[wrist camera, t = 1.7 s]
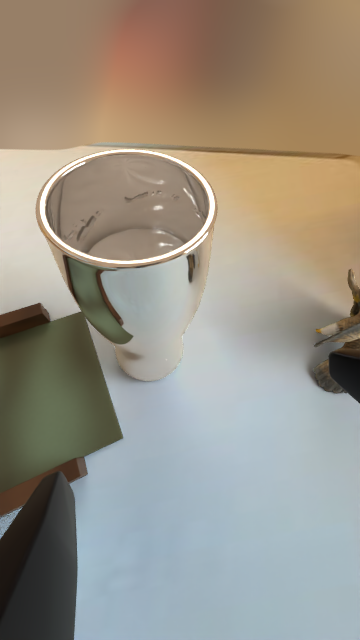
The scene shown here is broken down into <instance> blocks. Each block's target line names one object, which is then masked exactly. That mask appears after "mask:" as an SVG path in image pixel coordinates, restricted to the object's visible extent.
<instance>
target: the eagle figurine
mask: <svg viewBox="0 0 360 640" xmlns="http://www.w3.org/2000/svg"><path fill="white" fill-rule="evenodd" d="M354 276H355V275H354V271H353V270H352V269H350V270H349V272H348V284H349V287H350V289H351V290H352V294H353V299H354V305H353V307H352V309H351V311H350V312H351V313H350V315H351V317H349V318H345V319H342V320H340V321H338V322H336V323H334V324H331V325H328V326H326V327H324V328H322V329H316V332H318V333H322V334H324V335H326V336H329V335H332V336H331V337H329V338H328V339H325V340H323V341H320V342H318V343H316V344H315V345H314V347H318V346H320V345H322V344H323V343H327V342H345V344H344V346H343V347H342V348H343V349H355V350H360V289H359V287H358V285H357V283H356V281H355V278H354ZM313 371H314V372H315V373H316V375H315V378H316V379H317V380H319V386H320V387H324V389H325V391H331V390H332V391H333V392H334V393H339V392H341V391H342V390H343V391H344V393H347V392H346V391H345V390H344V389H343V388H342V387H341V386H339V385H338V384H337V383H336V382H335V381H334V380H333V379H332V378H331V377H330V374H329V361H328V360H326V361H324V362H322V363H321V364H319V365H317V366H316V367H315V368H314V369H313Z"/></svg>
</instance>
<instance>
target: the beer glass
mask: <svg viewBox="0 0 360 640" xmlns="http://www.w3.org/2000/svg"><path fill="white" fill-rule="evenodd" d="M216 216H217V200H216V196H215V193H214V191H213V189H212V187H211V185H210V184H209V182H208V181H207V180H206V178H205V177H204V176H203V175H202V174H201V173H200V172H198V171H197V170H196V169H195V168H193V167H192V166H190V165H189V164H187V163H185V162H183V161H181V160H179V159H177V158H174V157H172V156H169V155H165V154H162V153H158V152H153V151H147V150H137V149H119V150H109V151H103V152H98V153H94V154H91V155H88V156H85V157H82V158H79V159H77V160H75V161H73V162H71V163H69V164H67V165H65V166H64V167H62V168H61V169H59V170H58V171H57V172H55V173H54V174H53V175H52V176H51V177H50V178H49V179H48V180H47V182H46V183H45V184H44V186H43V187H42V189H41V191H40V193H39V195H38V198H37V202H36V218H37V222H38V225H39V228H40V230H41V232H42V233H43V235H44V236H45V238H46V240H47V242H48V245H49V247H50V249H51V252H52V254H53V256H54V259H55V261H56V264H57V266H58V268H59V270H60V273H61V275H62V277H63V279H64V281H65V283H66V285H67V287H68V289H69V291H70V293H71V295H72V297H73V299H74V300H75V302H76V304H77V305H78V307H79V308H80V310H81V311H82V313H83V314H84V316H85V317H86V319H87V320H88V321H89V322H90V323H91V324H92V325H93V327H94V328H95V329H96V330H97V331H98V332H99V333H100V334H101V335H102V336H103V337H104V338H106V339H107V340H108V341H109V342H110V343H111V344H113V345H114V346H115V355H116V359H117V361H118V364H119V365H120V367H121V368H122V370H123V371H124V372H125V373H126V374H128V375H129V376H131V377H133V378H135V379H137V380H141V381H156V380H160V379H162V378H164V377H166V376H168V375H169V374H171V373H172V372H173V371H174V370H175V369H176V368H177V367H178V365H179V363H180V362H181V359H182V356H183V350H184V347H183V340H182V336H183V334H184V333H185V331H186V330H187V328H188V326H189V325H190V323H191V321H192V319H193V317H194V315H195V313H196V311H197V309H198V307H199V305H200V302H201V298H202V295H203V292H204V289H205V285H206V280H207V275H208V270H209V264H210V256H211V249H212V240H213V231H214V223H215V220H216Z"/></svg>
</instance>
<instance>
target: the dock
mask: <svg viewBox="0 0 360 640" xmlns="http://www.w3.org/2000/svg"><path fill="white" fill-rule="evenodd" d="M122 438H123V435H122V432H121V429H120V426H119V423H118V420H117V417H116V413H115V410H114V407H113V404H112V401H111V398H110V395H109V391H108V388H107V385H106V382H105V379H104V376H103V373H102V369H101V366H100V363H99V360H98V357H97V354H96V350H95V347H94V344H93V341H92V338H91V335H90V332H89V328H88V325H87V322H86V319H85V316H84V314H83V313H82V312H79V313H76V314H73V315H70V316H67V317H64V318H61V319H57V320H54V321H50V317H49V313H48V312H47V310H46V309H45V308H44V307H43V306H42V304H41V303H38V304H34V305H31V306H28V307H25V308H21V309H18V310H15V311H12V312H9V313H5V314H2V315H0V518H1V517H3V516H5V515H7V514H9V513H11V512H13V511H15V510H17V509H19V508H21V507H23V506H24V505H25V503H26V502H27V500H28V499H29V497H30V496H31V495H32V493H33V492H34V490H35V489H36V487H37V486H38V484H39V483H40V482H41V480H42V479H43V478H44V477H46V476H47V475H50V474H52V473H54V472H57V471H61V472H62V473H63V474H64V476H65V478H66V479H67V481H68V483H71V482H73V481H75V480H77V479H79V478H82V477H84V476H86V475H87V474H88V472H87V468H86V464H85V460H84V456H86V455H88V454H91V453H93V452H95V451H97V450H99V449H101V448H103V447H105V446H107V445H109V444H112V443H114V442H116V441H118V440H120V439H122Z"/></svg>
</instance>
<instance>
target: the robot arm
mask: <svg viewBox="0 0 360 640" xmlns="http://www.w3.org/2000/svg"><path fill="white" fill-rule="evenodd" d="M328 361H329V374H330V377H331V378H332V379H333V380H334V381H335V382H336V383H337V384H338V385H339V386H341V387H342V388H343V389H344V390H345V391H346V392H347V393H348V394H350V395H351V396H352V397H353V398H354V399H355V400H356V401H358V402H359V403H360V350H355V349H343V348H340V349H337V350H335V351H332V352H331V353H329V356H328ZM76 592H77V538H76V514H75V497H74V493H73V490H72V489H71V487H70V485H69V483H68V481H67V479H66V478H65V476H64V474H63V473H62V472H61V471H57V472H54V473H52V474H50V475H47V476H46V477H44V478H43V479H42V480H41V482H40V483H39V484H38V486H37V487H36V489H35V490H34V492H33V493H32V495H31V496H30V497H29V499H28V500H27V502H26V503H25V505H24V506H23V507H22V509H21V510H20V512H19V513H18V515H17V516H16V518H15V519H14V520H13V522H12V523H11V525H10V526H9V528H8V529H7V531H6V532H5V533H4V535H3V536H2V538H1V539H0V640H74V629H75V610H76Z"/></svg>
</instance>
